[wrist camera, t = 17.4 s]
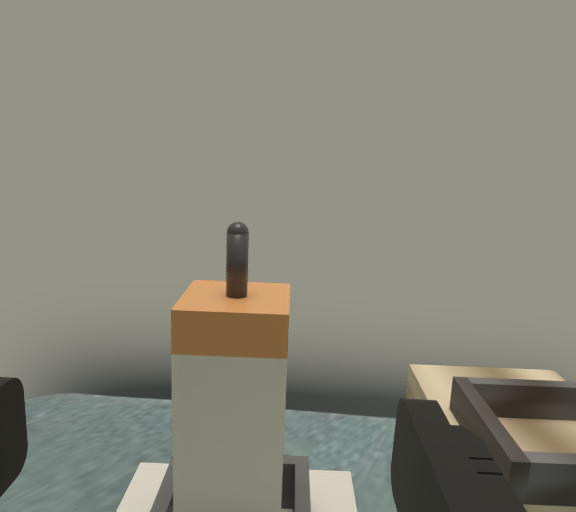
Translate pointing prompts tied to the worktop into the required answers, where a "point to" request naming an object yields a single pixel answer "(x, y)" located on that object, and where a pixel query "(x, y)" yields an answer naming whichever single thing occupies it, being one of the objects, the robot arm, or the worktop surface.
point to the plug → (229, 389)
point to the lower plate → (295, 488)
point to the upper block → (513, 424)
